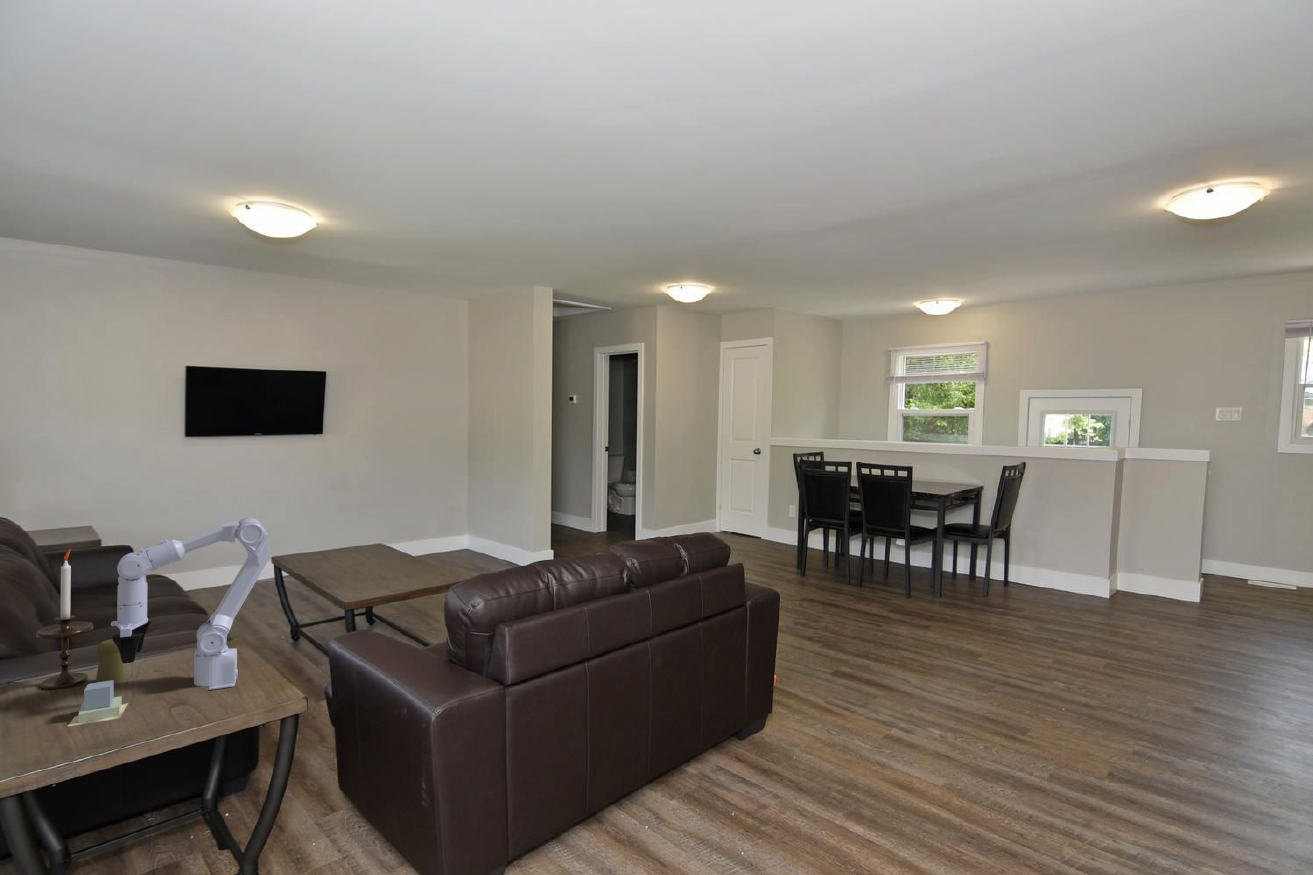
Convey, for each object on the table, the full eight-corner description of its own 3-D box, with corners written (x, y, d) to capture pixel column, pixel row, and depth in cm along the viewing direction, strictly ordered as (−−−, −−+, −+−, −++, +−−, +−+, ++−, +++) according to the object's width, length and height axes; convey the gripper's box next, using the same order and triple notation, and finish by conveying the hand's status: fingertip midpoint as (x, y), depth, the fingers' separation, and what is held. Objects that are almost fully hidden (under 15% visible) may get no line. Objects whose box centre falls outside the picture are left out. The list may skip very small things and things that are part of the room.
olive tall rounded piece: (129, 680, 170) (129, 639, 169) (100, 688, 164) (100, 645, 164) (120, 675, 173) (120, 634, 173) (91, 682, 168) (91, 640, 167)
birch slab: (128, 711, 154) (128, 702, 154) (119, 726, 146) (119, 718, 146) (79, 718, 150) (79, 710, 150) (67, 735, 142) (67, 726, 142)
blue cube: (113, 698, 151) (113, 679, 151) (110, 705, 148) (110, 686, 148) (88, 703, 149) (88, 683, 149) (84, 710, 145) (84, 690, 145)
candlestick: (98, 672, 174) (99, 543, 174) (84, 687, 165) (86, 551, 164) (45, 678, 170) (46, 546, 169) (28, 694, 160) (29, 554, 159)
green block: (121, 704, 153) (121, 695, 153) (119, 715, 148) (119, 706, 148) (82, 711, 149) (82, 702, 149) (78, 723, 144) (78, 714, 144)
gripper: (118, 596, 163) (118, 650, 163) (103, 612, 150) (103, 670, 150) (153, 594, 166) (153, 646, 166) (142, 608, 154) (141, 665, 154)
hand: (131, 657), depth 159 cm, fingers open, 7 cm apart
